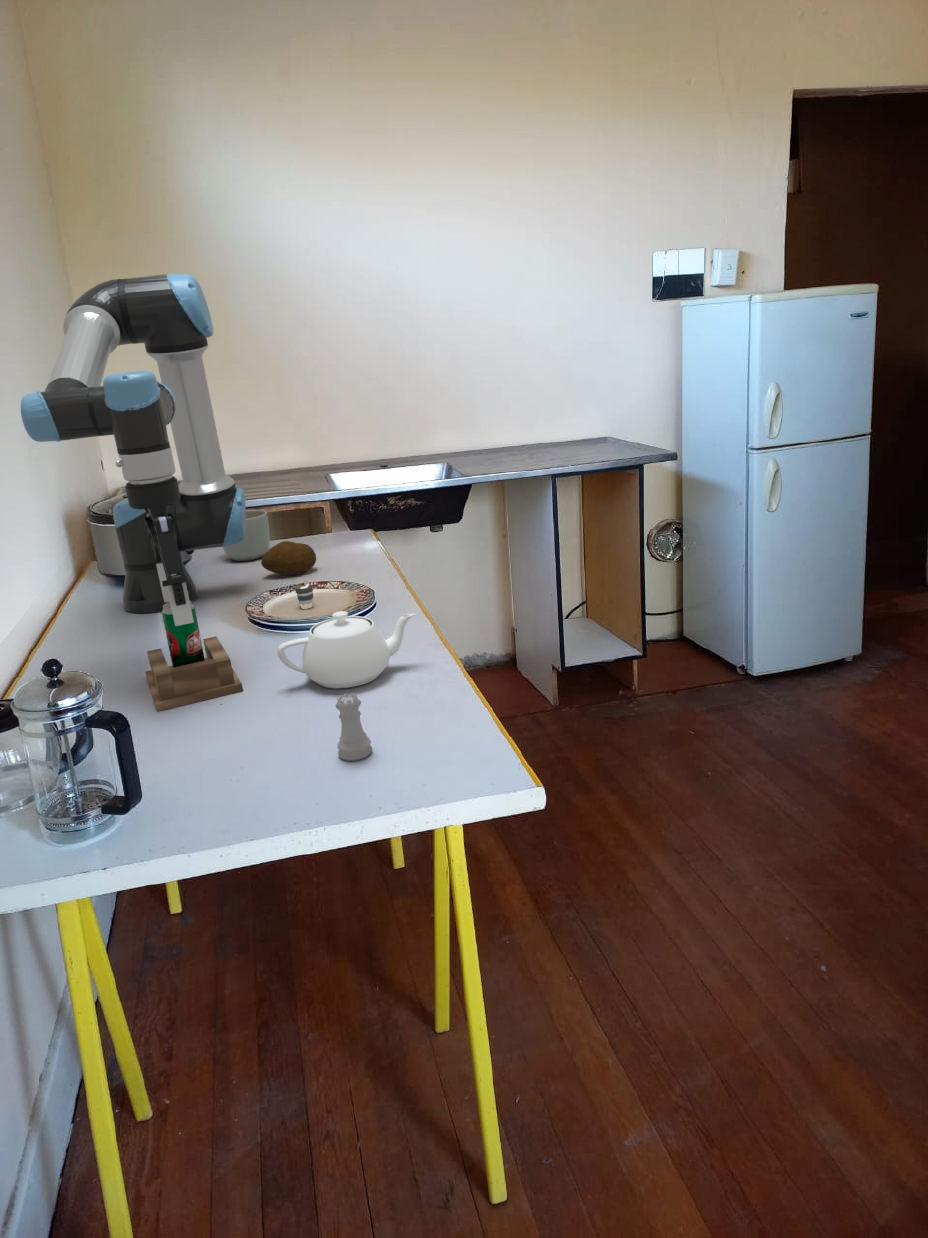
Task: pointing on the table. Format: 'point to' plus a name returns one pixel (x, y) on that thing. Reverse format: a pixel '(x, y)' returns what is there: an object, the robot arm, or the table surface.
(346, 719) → the rook chess piece
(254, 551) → the planter
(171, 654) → the soda can
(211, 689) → the cradle
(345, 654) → the teapot
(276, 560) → the potato
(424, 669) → the table surface
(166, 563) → the robot arm
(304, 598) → the coffee cup
